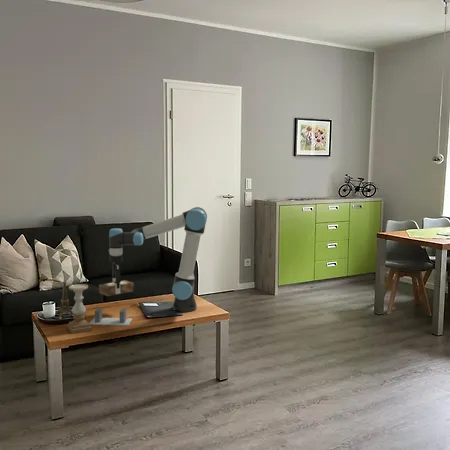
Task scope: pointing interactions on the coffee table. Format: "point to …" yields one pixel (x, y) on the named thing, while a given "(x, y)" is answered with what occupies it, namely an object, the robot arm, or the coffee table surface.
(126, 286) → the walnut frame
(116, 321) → the board
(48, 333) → the coffee table surface
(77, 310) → the candle holder
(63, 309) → the eiffel tower
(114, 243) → the robot arm
